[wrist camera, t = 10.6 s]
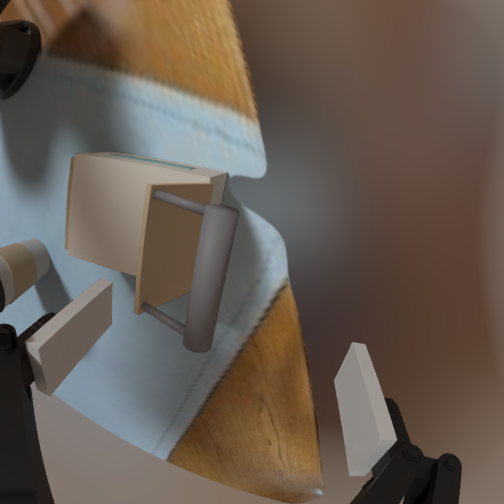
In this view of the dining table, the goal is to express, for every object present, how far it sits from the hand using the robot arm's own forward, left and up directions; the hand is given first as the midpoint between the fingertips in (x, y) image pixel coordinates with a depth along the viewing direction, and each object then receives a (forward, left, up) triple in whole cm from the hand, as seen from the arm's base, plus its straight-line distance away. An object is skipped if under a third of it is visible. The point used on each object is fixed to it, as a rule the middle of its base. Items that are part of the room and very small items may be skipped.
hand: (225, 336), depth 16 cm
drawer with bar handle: (0, -7, -11) cm, 13 cm away
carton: (0, -13, -24) cm, 28 cm away
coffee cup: (+14, -36, -25) cm, 46 cm away
